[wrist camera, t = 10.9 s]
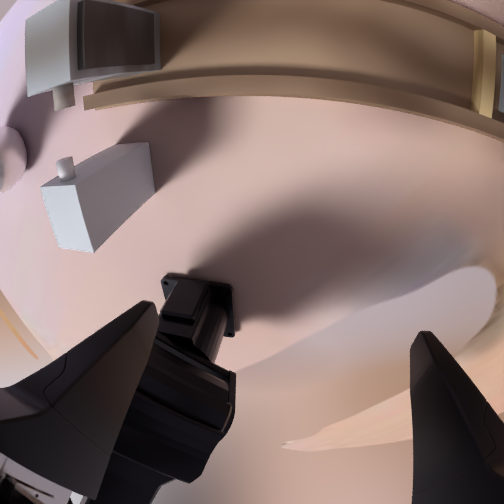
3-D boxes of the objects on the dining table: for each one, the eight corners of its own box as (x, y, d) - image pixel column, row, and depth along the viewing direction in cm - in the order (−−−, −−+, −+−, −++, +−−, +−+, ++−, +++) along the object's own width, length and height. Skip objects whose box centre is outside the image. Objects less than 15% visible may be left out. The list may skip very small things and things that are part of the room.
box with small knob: (147, 127, 18) (70, 164, 11) (155, 193, 21) (94, 252, 14) (109, 131, 18) (31, 169, 12) (119, 192, 21) (55, 247, 15)
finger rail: (531, 153, 13) (609, 209, 5) (105, 107, 17) (7, 144, 10) (540, 58, 8) (625, 79, 1) (101, 10, 13) (1, 7, 5)
